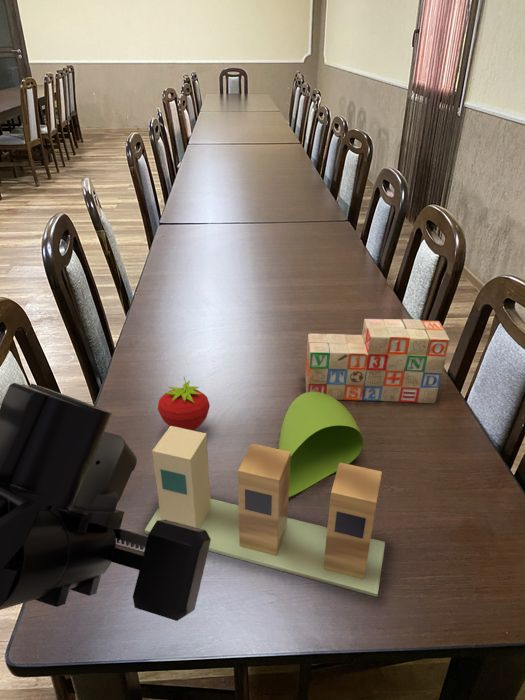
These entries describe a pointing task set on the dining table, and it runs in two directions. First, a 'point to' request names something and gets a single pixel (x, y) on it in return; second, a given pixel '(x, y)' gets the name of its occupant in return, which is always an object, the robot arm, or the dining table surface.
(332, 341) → the stack of blocks
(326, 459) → the green curved shell
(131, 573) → the dining table surface
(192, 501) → the tall cream block
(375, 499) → the block line
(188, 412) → the strawberry
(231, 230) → the dining table surface
